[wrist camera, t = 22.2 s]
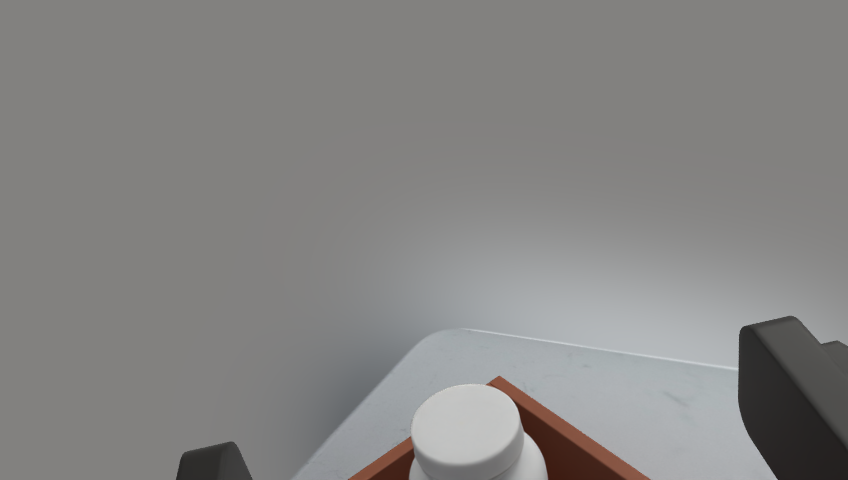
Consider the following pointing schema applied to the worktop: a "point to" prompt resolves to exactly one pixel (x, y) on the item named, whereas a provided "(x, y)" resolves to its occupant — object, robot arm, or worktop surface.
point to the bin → (557, 440)
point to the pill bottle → (472, 438)
